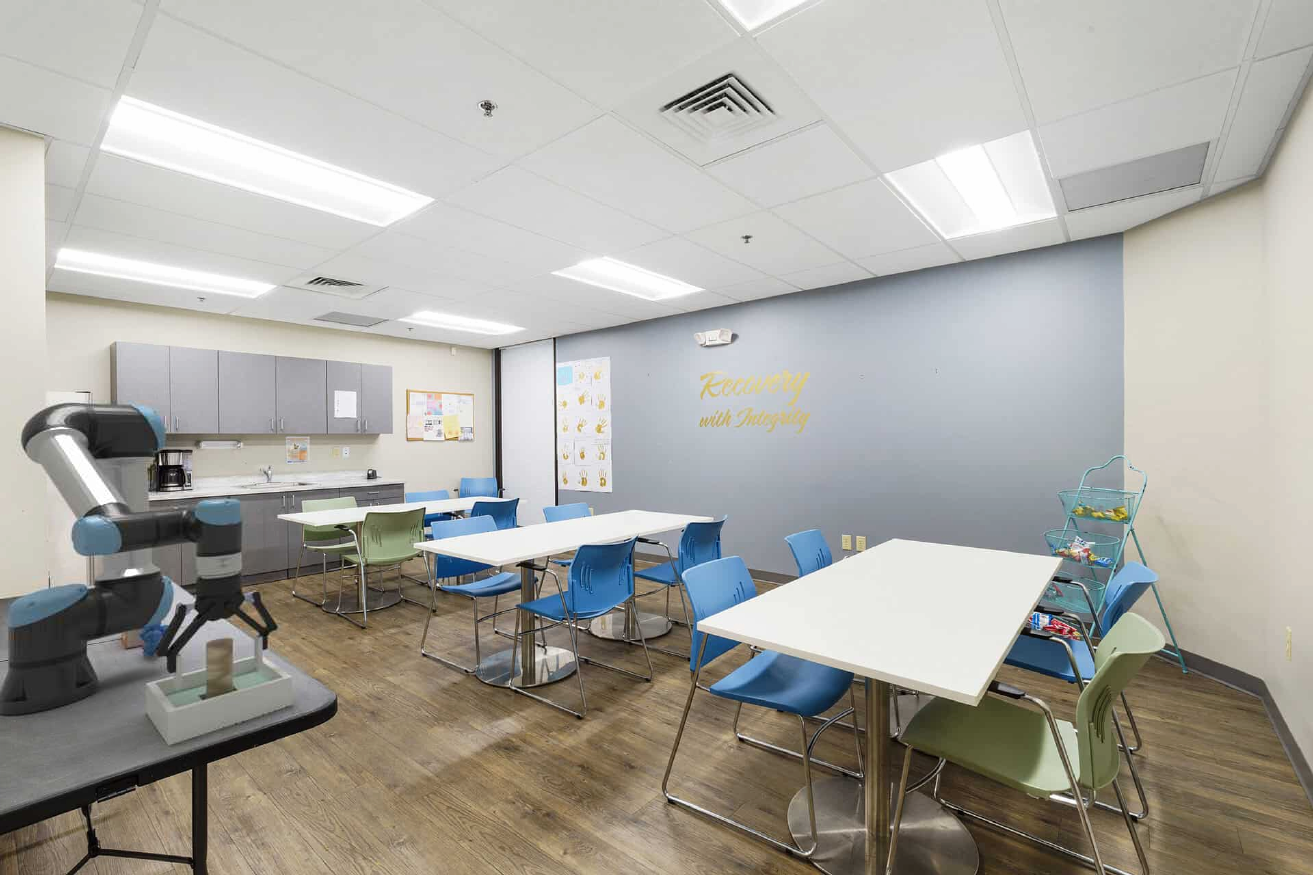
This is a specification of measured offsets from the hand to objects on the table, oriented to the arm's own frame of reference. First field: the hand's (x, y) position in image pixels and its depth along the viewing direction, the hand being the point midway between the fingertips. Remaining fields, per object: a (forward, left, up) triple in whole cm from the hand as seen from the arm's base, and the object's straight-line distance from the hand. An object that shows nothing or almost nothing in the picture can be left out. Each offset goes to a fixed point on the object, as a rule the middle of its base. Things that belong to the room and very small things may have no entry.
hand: (219, 676), depth 118 cm
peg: (0, 0, -7) cm, 7 cm away
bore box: (0, 0, -7) cm, 7 cm away
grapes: (-2, +50, -7) cm, 51 cm away
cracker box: (-3, +68, -7) cm, 68 cm away
